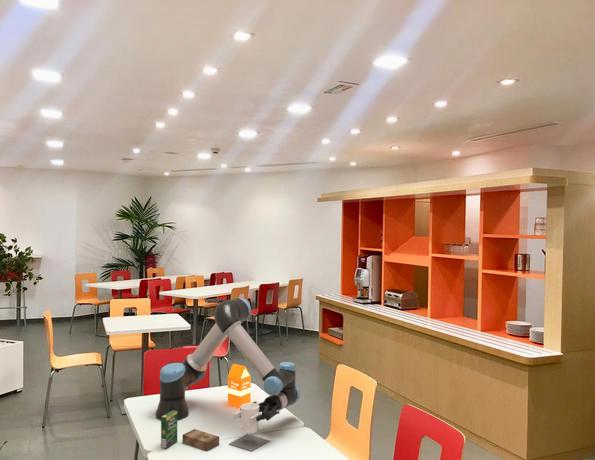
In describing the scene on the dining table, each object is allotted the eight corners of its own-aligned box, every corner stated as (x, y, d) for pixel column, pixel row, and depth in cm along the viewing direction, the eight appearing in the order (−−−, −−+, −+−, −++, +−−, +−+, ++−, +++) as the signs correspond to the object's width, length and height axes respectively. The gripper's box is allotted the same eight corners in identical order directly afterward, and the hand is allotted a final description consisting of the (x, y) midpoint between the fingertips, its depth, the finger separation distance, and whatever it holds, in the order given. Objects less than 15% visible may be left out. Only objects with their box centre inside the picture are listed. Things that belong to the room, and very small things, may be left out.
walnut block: (182, 443, 210) (182, 431, 210) (194, 437, 216) (194, 426, 216) (207, 451, 202) (207, 439, 202) (219, 445, 208) (219, 433, 208)
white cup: (256, 434, 205) (256, 410, 205) (238, 433, 207) (237, 408, 207) (261, 427, 213) (261, 403, 213) (243, 425, 215) (243, 402, 215)
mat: (228, 444, 208) (228, 443, 208) (247, 434, 218) (247, 433, 218) (251, 451, 202) (251, 450, 202) (269, 441, 212) (269, 440, 212)
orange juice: (237, 400, 262) (238, 362, 261) (250, 404, 256) (251, 364, 256) (227, 404, 255) (227, 365, 255) (240, 408, 250) (240, 368, 250)
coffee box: (166, 449, 203) (166, 417, 203) (160, 448, 204) (160, 416, 204) (177, 441, 211) (178, 410, 211) (172, 440, 212) (172, 409, 212)
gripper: (294, 416, 219) (262, 434, 200) (257, 407, 231) (223, 423, 212) (294, 398, 219) (262, 415, 200) (256, 390, 231) (223, 405, 212)
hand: (242, 419), depth 206 cm, fingers closed on white cup, 8 cm apart
